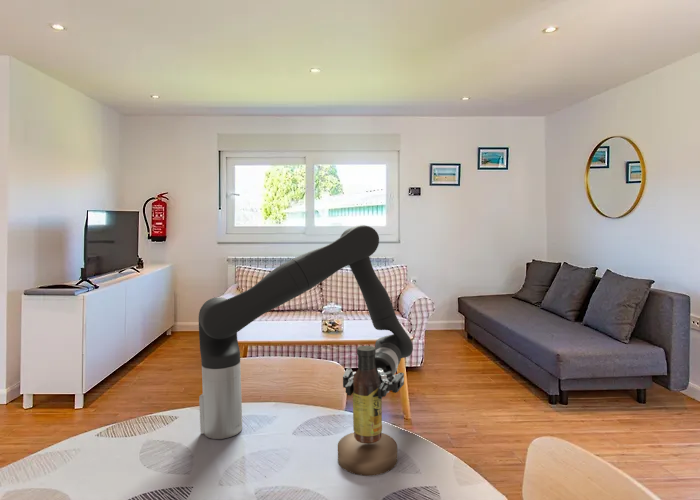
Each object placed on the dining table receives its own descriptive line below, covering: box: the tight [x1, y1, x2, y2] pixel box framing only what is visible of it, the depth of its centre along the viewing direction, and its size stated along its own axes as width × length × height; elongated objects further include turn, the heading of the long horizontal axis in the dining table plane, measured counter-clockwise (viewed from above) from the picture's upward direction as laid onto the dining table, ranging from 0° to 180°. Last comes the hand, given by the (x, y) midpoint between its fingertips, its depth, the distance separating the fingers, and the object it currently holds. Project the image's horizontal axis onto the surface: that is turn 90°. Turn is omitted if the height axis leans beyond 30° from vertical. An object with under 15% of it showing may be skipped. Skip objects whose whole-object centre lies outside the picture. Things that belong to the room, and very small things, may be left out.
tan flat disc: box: [337, 432, 398, 477], centre depth 94 cm, size 13×13×3 cm
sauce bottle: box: [352, 345, 383, 444], centre depth 93 cm, size 6×6×20 cm
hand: (364, 392), depth 91 cm, fingers closed on sauce bottle, 6 cm apart
